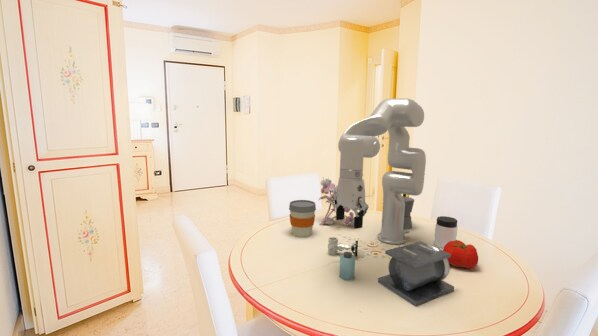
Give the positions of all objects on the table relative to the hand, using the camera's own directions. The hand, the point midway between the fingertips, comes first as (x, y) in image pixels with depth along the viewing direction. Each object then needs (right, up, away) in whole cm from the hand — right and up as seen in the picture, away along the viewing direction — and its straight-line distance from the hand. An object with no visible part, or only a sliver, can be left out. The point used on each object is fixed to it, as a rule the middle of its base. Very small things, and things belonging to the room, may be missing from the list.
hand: (348, 223), depth 110 cm
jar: (+47, -15, +33) cm, 60 cm away
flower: (+5, -11, +58) cm, 59 cm away
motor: (+22, -21, -2) cm, 30 cm away
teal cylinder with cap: (0, -19, +3) cm, 20 cm away
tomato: (+44, -18, +14) cm, 50 cm away
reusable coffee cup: (-15, -13, +44) cm, 48 cm away
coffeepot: (+36, -11, +56) cm, 68 cm away
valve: (+1, -17, +21) cm, 27 cm away
